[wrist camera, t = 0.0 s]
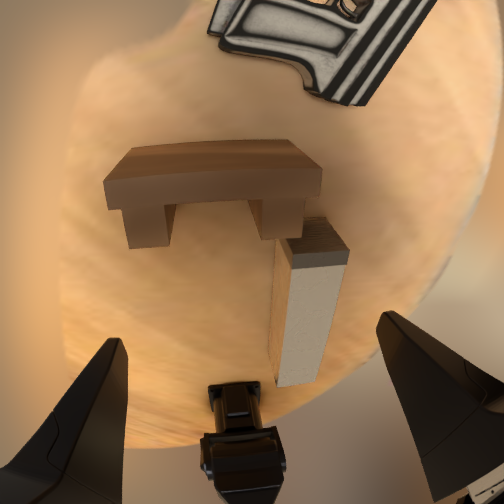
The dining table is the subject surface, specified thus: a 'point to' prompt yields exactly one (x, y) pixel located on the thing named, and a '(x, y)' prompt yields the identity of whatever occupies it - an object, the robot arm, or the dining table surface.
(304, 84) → the handgun
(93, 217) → the dining table surface
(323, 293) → the rail
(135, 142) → the dining table surface
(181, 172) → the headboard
